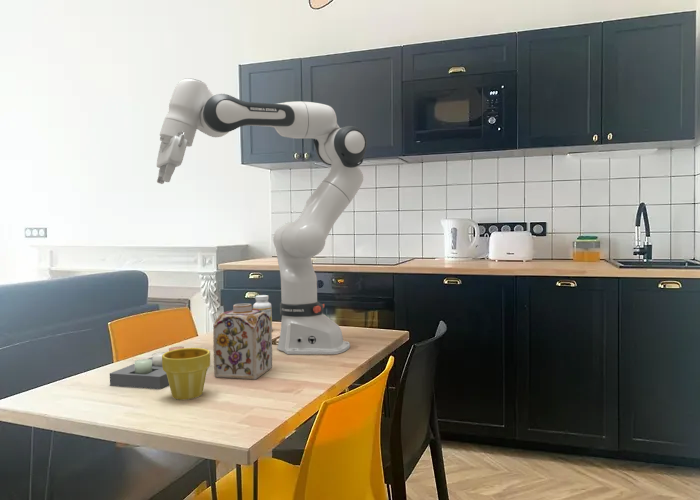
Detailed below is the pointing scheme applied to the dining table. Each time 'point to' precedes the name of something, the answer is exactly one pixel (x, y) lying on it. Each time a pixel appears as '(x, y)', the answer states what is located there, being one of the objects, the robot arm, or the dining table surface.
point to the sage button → (143, 366)
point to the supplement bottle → (263, 305)
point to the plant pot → (186, 371)
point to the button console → (139, 378)
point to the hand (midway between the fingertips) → (162, 182)
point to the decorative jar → (242, 343)
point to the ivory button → (157, 359)
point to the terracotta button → (175, 348)
